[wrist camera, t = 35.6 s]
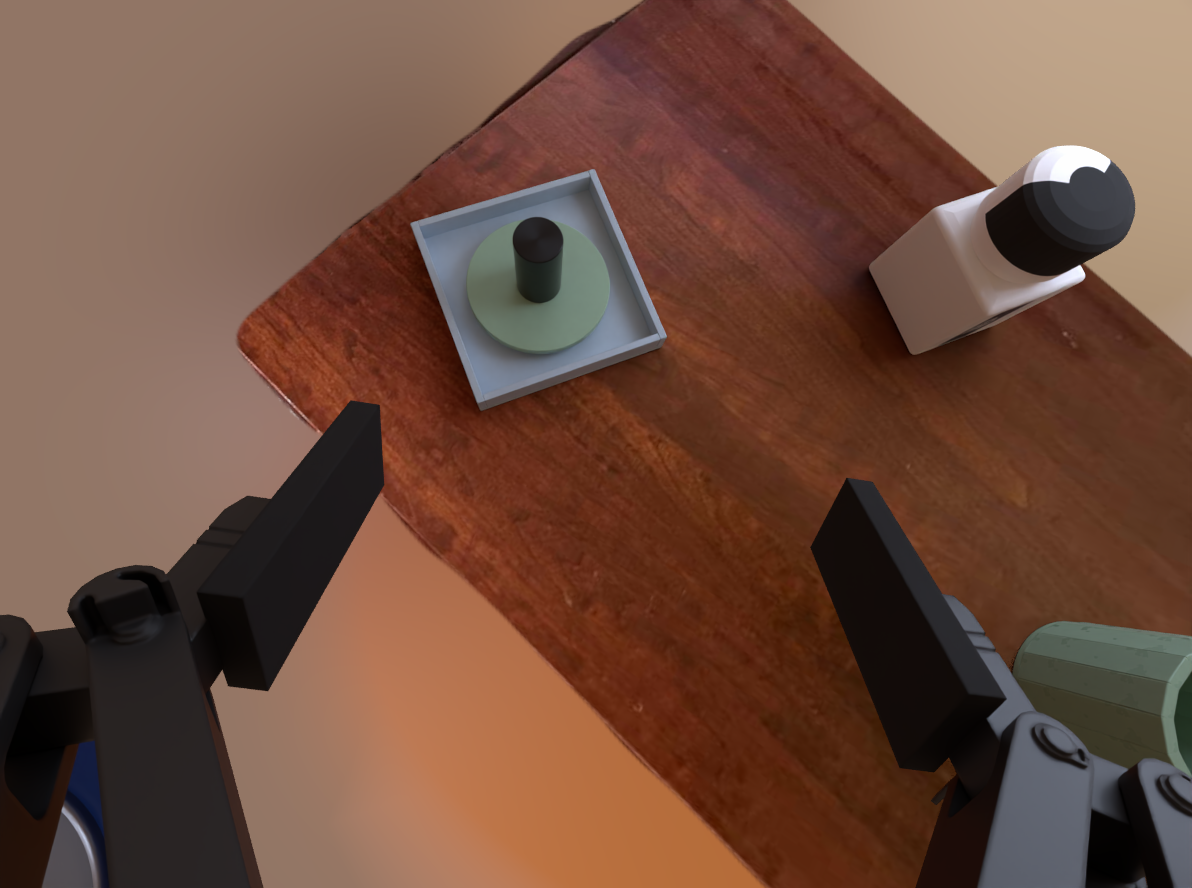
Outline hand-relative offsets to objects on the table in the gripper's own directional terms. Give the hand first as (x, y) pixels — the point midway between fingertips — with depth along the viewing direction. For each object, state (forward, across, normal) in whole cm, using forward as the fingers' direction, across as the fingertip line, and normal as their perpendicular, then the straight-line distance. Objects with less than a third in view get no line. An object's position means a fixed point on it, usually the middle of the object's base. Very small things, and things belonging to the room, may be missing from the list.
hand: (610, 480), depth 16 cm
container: (+30, +25, -1) cm, 39 cm away
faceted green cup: (+11, +36, -20) cm, 42 cm away
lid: (+26, -5, -4) cm, 26 cm away
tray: (+26, -5, -4) cm, 27 cm away
